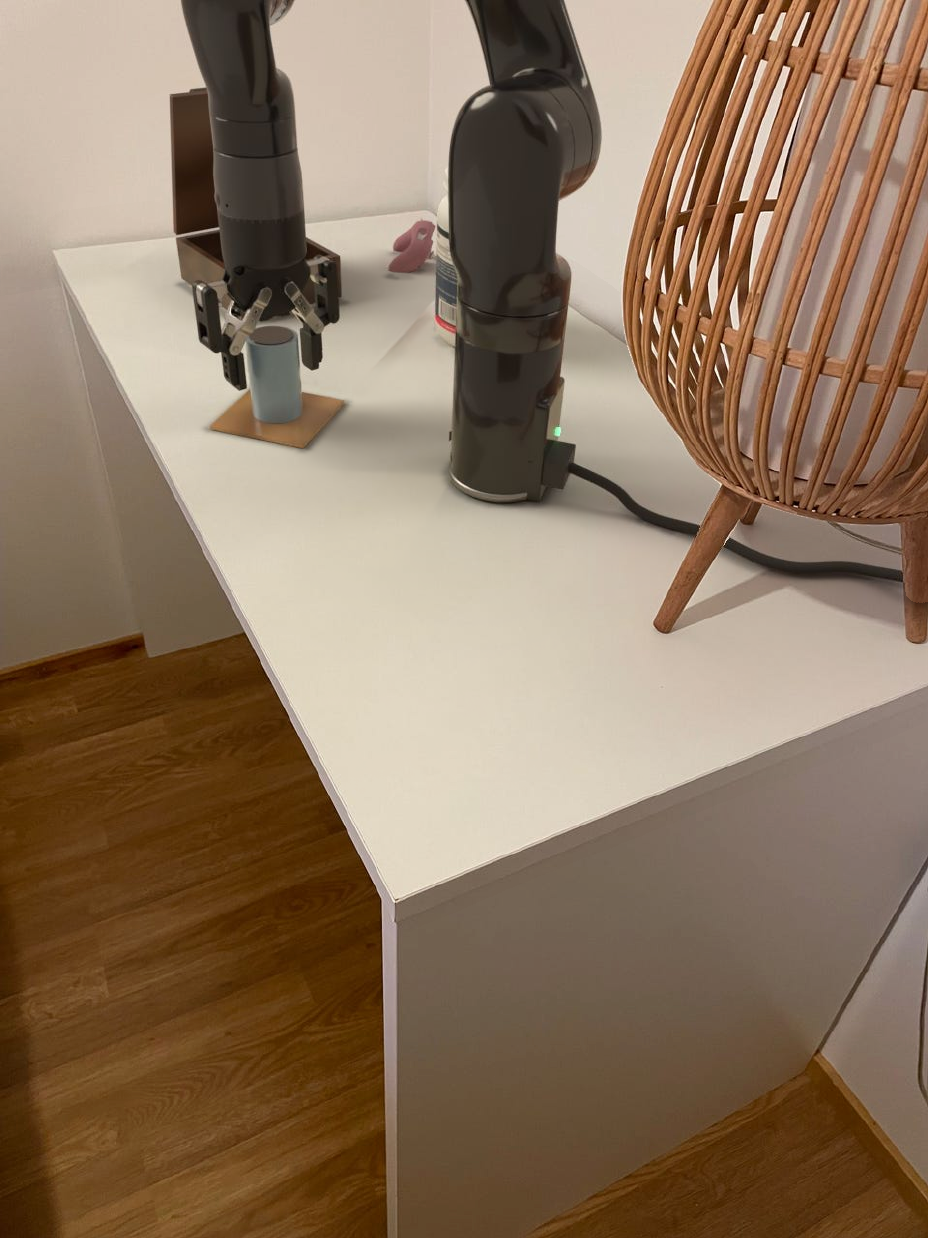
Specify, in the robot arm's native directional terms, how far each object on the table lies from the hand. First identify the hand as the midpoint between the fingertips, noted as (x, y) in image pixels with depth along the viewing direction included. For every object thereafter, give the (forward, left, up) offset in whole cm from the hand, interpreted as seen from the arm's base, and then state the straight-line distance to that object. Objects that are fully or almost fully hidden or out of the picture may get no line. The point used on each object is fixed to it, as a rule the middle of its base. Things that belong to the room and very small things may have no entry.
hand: (275, 376), depth 95 cm
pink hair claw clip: (+2, -45, -5) cm, 45 cm away
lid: (+20, -31, +10) cm, 38 cm away
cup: (0, 0, -4) cm, 4 cm away
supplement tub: (-14, -27, -4) cm, 31 cm away
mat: (0, 0, -4) cm, 4 cm away
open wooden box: (+16, -28, -4) cm, 33 cm away
